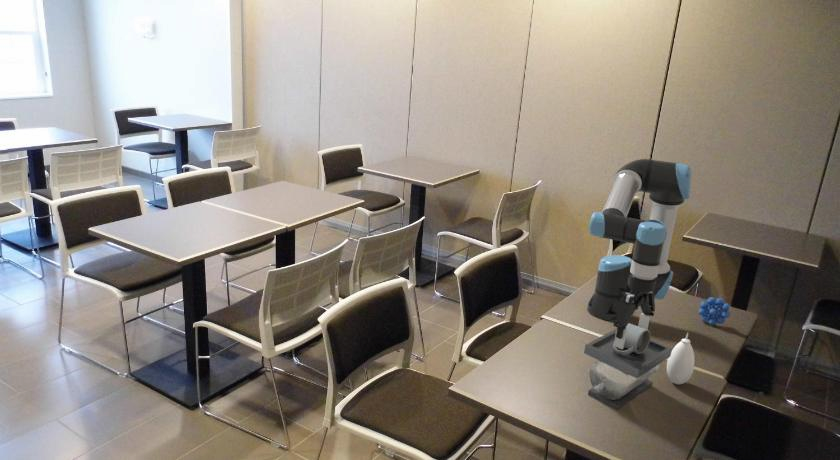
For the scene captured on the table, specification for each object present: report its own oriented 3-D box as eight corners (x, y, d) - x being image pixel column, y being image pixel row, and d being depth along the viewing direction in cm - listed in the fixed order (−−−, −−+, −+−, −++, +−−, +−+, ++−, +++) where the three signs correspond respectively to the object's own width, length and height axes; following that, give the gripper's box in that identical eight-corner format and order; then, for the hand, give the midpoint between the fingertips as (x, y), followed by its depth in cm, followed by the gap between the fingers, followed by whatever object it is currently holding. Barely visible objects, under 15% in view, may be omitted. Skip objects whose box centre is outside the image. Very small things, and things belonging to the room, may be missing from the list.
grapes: (730, 327, 235) (737, 299, 231) (723, 332, 230) (730, 303, 226) (700, 316, 243) (707, 289, 239) (693, 321, 238) (699, 293, 234)
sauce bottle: (663, 385, 191) (674, 335, 185) (663, 373, 198) (674, 324, 192) (690, 392, 188) (702, 340, 183) (689, 379, 195) (700, 330, 190)
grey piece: (613, 367, 200) (620, 326, 195) (663, 391, 188) (672, 348, 183) (577, 389, 186) (584, 345, 181) (628, 416, 174) (638, 370, 169)
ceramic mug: (624, 339, 189) (628, 317, 187) (648, 350, 183) (653, 327, 181) (605, 349, 182) (609, 326, 180) (629, 360, 177) (633, 337, 174)
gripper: (651, 262, 186) (639, 324, 192) (608, 280, 169) (596, 347, 176) (675, 270, 180) (661, 333, 187) (633, 289, 164) (620, 358, 171)
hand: (630, 340), depth 182 cm, fingers open, 13 cm apart
